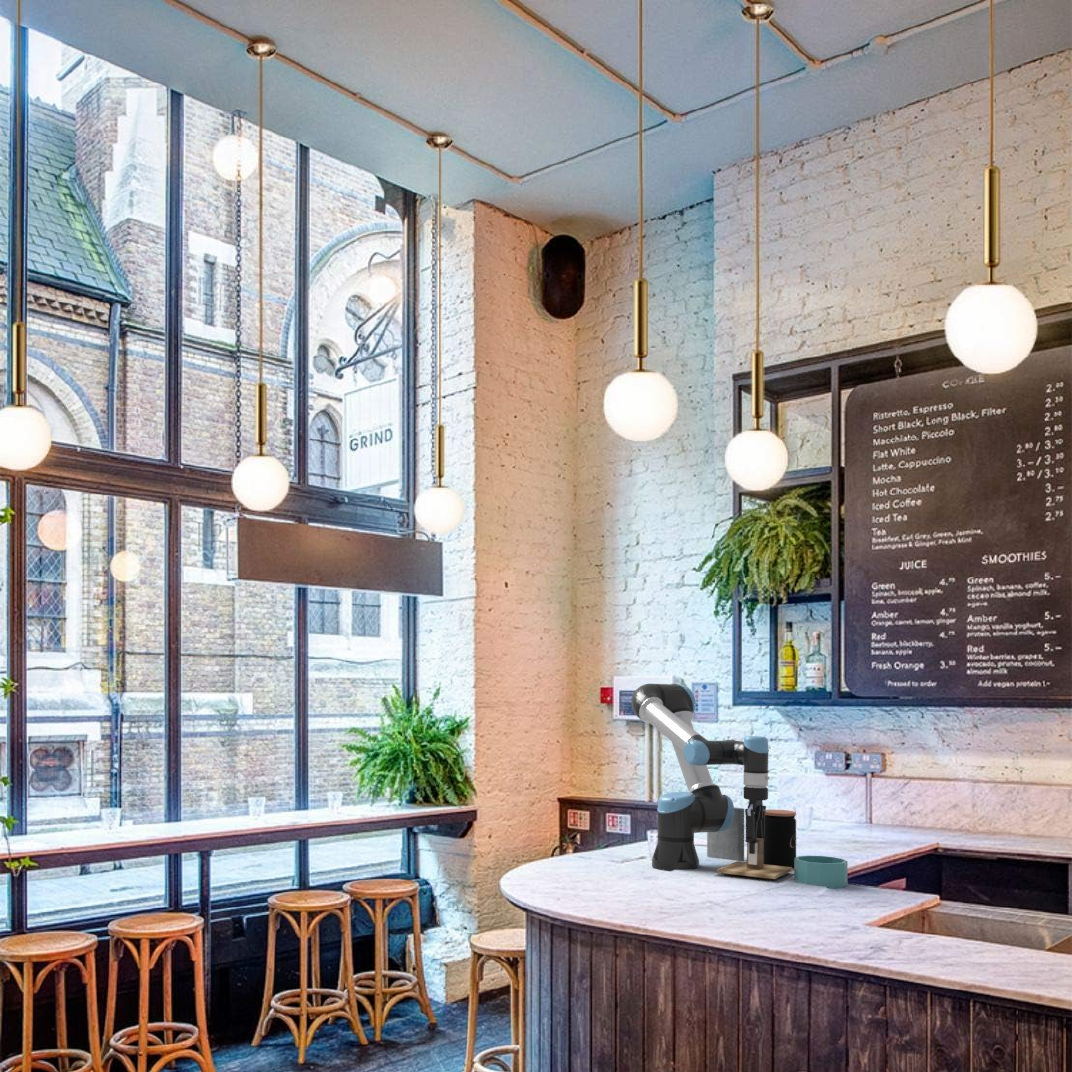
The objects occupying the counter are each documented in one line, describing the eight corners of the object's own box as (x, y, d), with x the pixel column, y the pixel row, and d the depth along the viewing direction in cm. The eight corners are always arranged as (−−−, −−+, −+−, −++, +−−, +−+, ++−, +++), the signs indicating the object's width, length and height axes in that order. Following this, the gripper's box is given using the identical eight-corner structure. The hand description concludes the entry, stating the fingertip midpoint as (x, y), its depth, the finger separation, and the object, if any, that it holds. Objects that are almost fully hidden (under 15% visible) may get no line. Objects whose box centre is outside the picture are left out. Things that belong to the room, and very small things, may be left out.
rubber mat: (713, 877, 353) (713, 875, 353) (735, 869, 370) (735, 867, 370) (777, 885, 343) (777, 883, 343) (796, 875, 361) (796, 873, 361)
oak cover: (717, 872, 354) (717, 839, 355) (736, 864, 369) (737, 832, 370) (774, 879, 345) (774, 845, 346) (792, 870, 361) (792, 838, 362)
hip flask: (746, 862, 385) (746, 801, 387) (737, 863, 382) (737, 801, 385) (711, 855, 397) (712, 796, 400) (703, 856, 395) (703, 797, 397)
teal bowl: (789, 884, 345) (789, 860, 346) (803, 877, 358) (803, 854, 359) (839, 889, 338) (839, 865, 339) (852, 882, 351) (851, 858, 352)
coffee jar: (796, 871, 368) (796, 814, 370) (762, 869, 370) (762, 812, 372) (795, 866, 379) (795, 810, 381) (762, 864, 381) (762, 808, 383)
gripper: (758, 789, 351) (758, 868, 348) (775, 785, 366) (775, 860, 363) (735, 787, 354) (734, 865, 352) (752, 783, 369) (752, 858, 367)
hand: (755, 863), depth 357 cm, fingers closed on oak cover, 4 cm apart
